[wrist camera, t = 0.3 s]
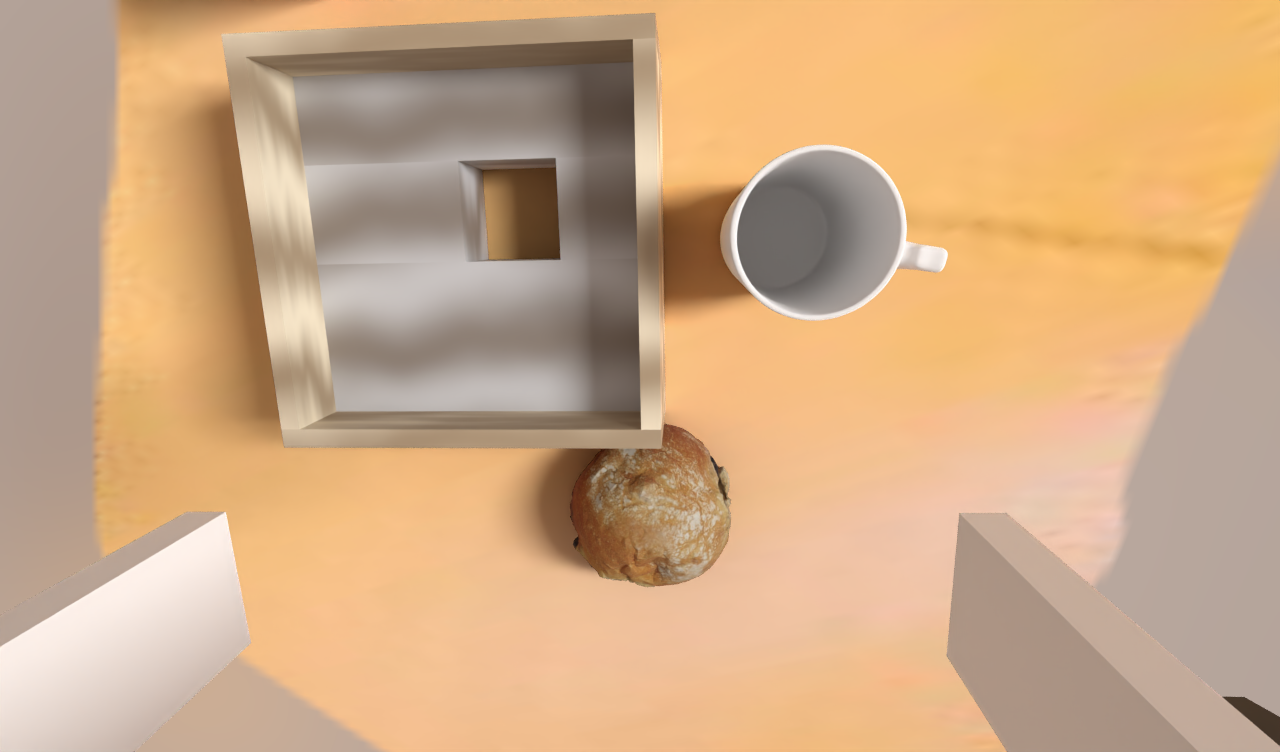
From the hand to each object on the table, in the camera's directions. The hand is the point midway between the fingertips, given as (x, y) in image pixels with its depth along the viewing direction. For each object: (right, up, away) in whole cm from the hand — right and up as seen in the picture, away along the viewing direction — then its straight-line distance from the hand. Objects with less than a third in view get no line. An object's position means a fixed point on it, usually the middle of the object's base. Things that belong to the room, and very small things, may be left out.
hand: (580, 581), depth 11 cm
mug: (+10, +11, +25) cm, 29 cm away
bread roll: (+2, -4, +29) cm, 29 cm away
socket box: (-8, +11, +26) cm, 29 cm away
